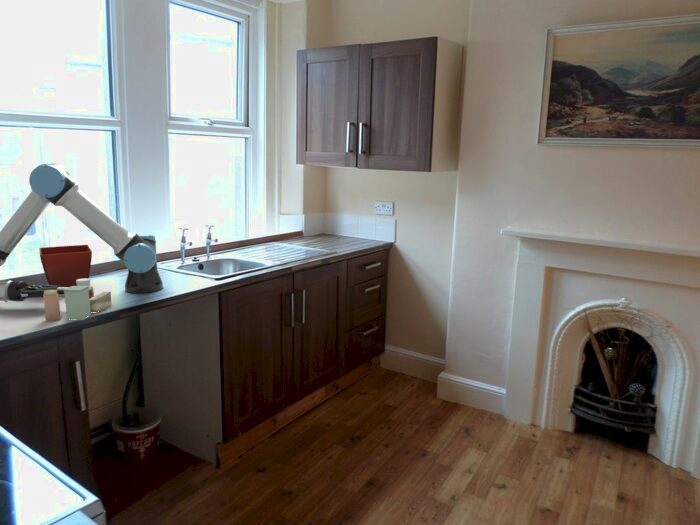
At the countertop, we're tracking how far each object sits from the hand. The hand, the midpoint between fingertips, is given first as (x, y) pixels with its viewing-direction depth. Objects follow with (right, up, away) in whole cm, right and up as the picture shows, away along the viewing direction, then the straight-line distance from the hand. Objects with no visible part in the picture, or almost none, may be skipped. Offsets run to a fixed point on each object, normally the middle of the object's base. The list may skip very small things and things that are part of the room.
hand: (75, 291), depth 205 cm
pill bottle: (+3, -7, +1) cm, 8 cm away
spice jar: (-2, -9, -12) cm, 15 cm away
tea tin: (+6, -9, -10) cm, 15 cm away
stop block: (+9, -6, +1) cm, 11 cm away
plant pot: (-19, 0, +33) cm, 38 cm away
